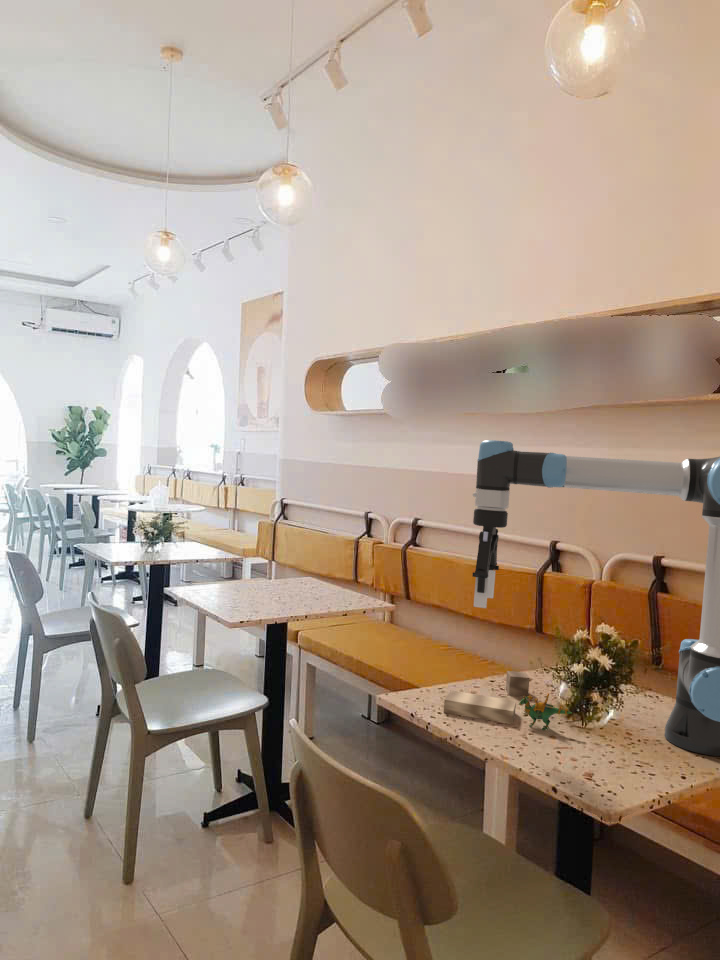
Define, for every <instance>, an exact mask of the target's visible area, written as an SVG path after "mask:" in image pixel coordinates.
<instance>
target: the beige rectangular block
mask: <svg viewBox="0 0 720 960" xmlns="http://www.w3.org/2000/svg"><path fill="white" fill-rule="evenodd" d="M443 702H444V703H443V713H447V714H450V715H457V716H463V717H468V718H475V719H481V720H487V721H492V722H499V723H503V724H508V725H513V723H514V719H515V716H516V710H517V709H516V707H517V700H512V699H506V698H501V697H496V696H494V697H493V696H489V695H483V694H475V693H472V692H471V693H470V692H464V691H458V690H453V689H452V690H449V691H448V694H447V695H446V696H445V698H444V701H443Z"/></svg>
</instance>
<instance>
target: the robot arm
mask: <svg viewBox="0 0 720 960" xmlns="http://www.w3.org/2000/svg"><path fill="white" fill-rule="evenodd" d="M514 449H515V448H514V444H513V443H512V442H511V441H508V440H507V441H506V440H505V441H504V440H493V439H492V440H491V439H490V440H489V439H486V440H483V441H481V442H480V444H479V451H478V457H477V465H476V466H477V469H476V482H475V483H476V484H475V492H473V493H472V496H473V497H474V498H475V500H474V506H475V507H476V508H475V509H474V510H473V519H472V521H473V522H472V523H473V525H475V526H477V527H482V531H480V532H479V536H478V541H479V542H478V546H477V547H478V550H477V555H476V556H477V557H476V564H475V571H474V572H472V577H474V578H475V581H474V582H475V583H474V593H473V595H474V597H473V608H474V607H475V608H481V609H487V606H488V605H487V603H488V599H494V595H495V585H496V584H495V583H496V571H499V569H500V566H499V565H498V546H499V545H498V542H499V539H500V537H499V536H500V535H499V534H498V533H499V528H501V529H503V528H506V527H507V525H508V515H509V513H508V508H509V507H510V506H509V505H510V494H511V492H510V490H511V489H510V487H511V485H522V486H532V487H533V486H534V487H542V488H543V487H545V488H568V489H580V490H595V491H605V492H606V491H609V492H622V493H631V494H632V493H633V494H634V493H635V494H646V495H647V494H648V495H649V494H650V495H661V496H662V495H664V496H674V497H679V499H681V500H682V501H683V502H693V503H699V504H702V513H701V517H702V519H704V521H705V522H706V523H707V525H708V535H707V536H708V537H707V546H706V547H707V548H706V557H705V558H706V559H705V569H704V584H703V594H702V604H701V605H702V606H701V616H700V618H701V619H700V630H699V639H693V638H685V639H683V640H681V642H680V647H679V650H678V654H679V658H678V659H679V660H678V670H677V682H676V692H675V695H676V697H675V704H674V706H673V708H672V710H671V712H670V714H669V717H668V719H667V721H666V723H665V727H664V738H665V739H666V740H667V741H668V742H669V743H671V744H672V745H675V746H677V747H679V748H680V749H681V748H682V749H683V750H686V751H690V752H693V753H696V754H697V753H698V754H701V755H706V756H707V755H708V756H713V757H720V456H716V457H709V458H685V459H684V460H682V461H681V462H678V461H676V462H674V461H659V460H658V461H657V460H643V459H642V460H638V459H625V458H624V459H623V458H606V457H591V456H590V457H589V456H571V455H565V454H563V453H556V452H555V453H554V452H539V451H520V450H514Z"/></svg>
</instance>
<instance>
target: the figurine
mask: <svg viewBox="0 0 720 960" xmlns="http://www.w3.org/2000/svg"><path fill="white" fill-rule="evenodd" d="M549 696H550V693H549V692H548V693H547V695H546V698H545V699H544V702H540V701H539V699H538V698H534V704H533V705H531V704H530V701H532V700H533V696H532V695H531V694H528V697H526V696H523V698H521V700H520V701H519V702H518V705H519V706H522V705H524V710H523V712H522V715H523V714H524V715H528V716H529V717H530V718H531V719H532V722H531V723H529V725H528V726H529V727H533V726H534V725H535V723H536V722H537V720H542V722H543V723H544V724H545V725H543V727H542V728H541V730H542V731H545V730H546V731H548V730H549V729H550V727H549V726H550V723H551V720H550V718H551V717H552V716H553V715H555V714H557V715H570V714H571V715H572V714H573V712H571V711H569V709H568V708H565V709H564V710H563V707H562V706H561V705H560V706H559V707H556V706H557V704H554V705H553V704H549V703H548V702H549ZM528 699H529V700H528ZM538 701H539V702H538Z"/></svg>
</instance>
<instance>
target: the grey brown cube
mask: <svg viewBox="0 0 720 960" xmlns="http://www.w3.org/2000/svg"><path fill="white" fill-rule="evenodd" d="M529 689H530V677H529V675H528V673H527V672H526V671H514V670H513V671H512V670H507V671H506V680H505V691H506V693H507V694H508V696H515V697H516V696H517V697H524V696H525V697H528V696H529V691H530V690H529Z"/></svg>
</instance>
